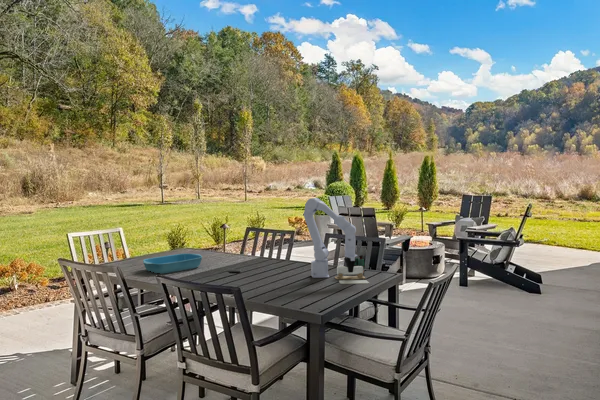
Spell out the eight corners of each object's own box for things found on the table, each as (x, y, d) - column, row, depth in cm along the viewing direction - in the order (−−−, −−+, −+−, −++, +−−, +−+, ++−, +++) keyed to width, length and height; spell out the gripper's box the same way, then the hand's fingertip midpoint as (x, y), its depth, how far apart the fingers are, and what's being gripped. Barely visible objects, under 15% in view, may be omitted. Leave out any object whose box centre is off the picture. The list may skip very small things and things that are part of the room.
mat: (340, 284, 223) (340, 283, 223) (338, 281, 229) (338, 280, 229) (369, 283, 224) (369, 282, 224) (366, 280, 231) (366, 280, 231)
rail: (337, 274, 235) (337, 267, 235) (336, 273, 237) (337, 266, 237) (363, 274, 236) (363, 267, 236) (362, 273, 239) (362, 266, 238)
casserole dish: (155, 277, 240) (155, 264, 240) (135, 271, 255) (135, 259, 255) (209, 267, 268) (209, 255, 268) (188, 262, 283) (188, 252, 283)
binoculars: (344, 257, 248) (352, 253, 256) (345, 275, 249) (353, 270, 257) (358, 258, 243) (366, 254, 251) (359, 276, 244) (367, 272, 252)
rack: (336, 279, 234) (336, 274, 234) (334, 277, 239) (334, 272, 238) (365, 279, 235) (365, 273, 235) (363, 277, 240) (363, 271, 240)
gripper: (360, 249, 229) (360, 274, 230) (354, 245, 244) (354, 268, 244) (347, 249, 229) (347, 274, 229) (342, 245, 243) (342, 269, 244)
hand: (350, 271), depth 237 cm, fingers closed on rail, 3 cm apart
